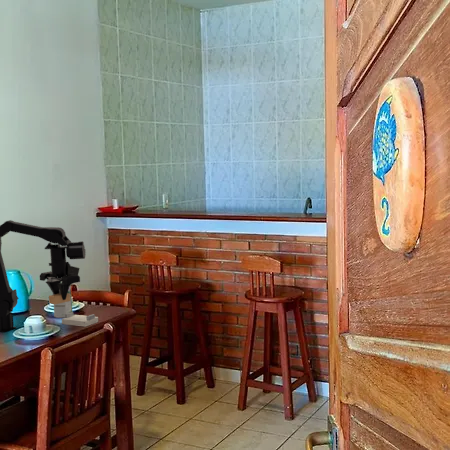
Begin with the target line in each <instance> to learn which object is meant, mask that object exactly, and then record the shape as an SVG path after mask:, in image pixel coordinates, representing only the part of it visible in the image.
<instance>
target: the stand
mask: <svg viewBox="0 0 450 450" xmlns="http://www.w3.org/2000/svg"><path fill="white" fill-rule="evenodd" d="M96 323H99V317H98V316H96V315H95V314H93V313H92V314H89V315H82V314H80V315H79V314H74V312H73V311H72V312H71V313H68V314H65V318H61V325H67V326H77V327H78V326H79V327H88V326H90V325H94V324H96Z"/></svg>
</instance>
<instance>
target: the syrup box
mask: <svg viewBox="0 0 450 450" xmlns="http://www.w3.org/2000/svg"><path fill="white" fill-rule="evenodd" d="M61 283H62V281H61ZM71 288H72V287H71V286H70V287H69V289H68V293H70V301H68V302H64V303H59V304H53V315H54V318H57V319H58V318H59V319H64V318H65V314H68V313H71V312H73V304H72V303H73V302H72V301H73V299H72V289H71ZM59 291H60V290H59ZM52 295H54V294H53V293H52Z"/></svg>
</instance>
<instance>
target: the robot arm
mask: <svg viewBox="0 0 450 450" xmlns="http://www.w3.org/2000/svg"><path fill="white" fill-rule="evenodd" d="M10 232H11V233H12V232H13V233H16V234H21V235H22V234H23V235H27V236H32V237H37V238H40V239H42V240H44V241H46V242H48V243H47V245H46V246H45V247H44V250H50V252H49V253H50V262H48V266H49V267H51V268H50V269H51V271H46V272H41V273H40V274H39V281H43V282H44V281H45V283H46V284H47V286H48V287H49V289H50V291H51V292H52V295H53V294H54V295H55V294H59V290H60V293H61V296H62V299H63V300H66V297H67V293H68V289H69V287H71V285H72V284H73V285H74V284H76V283H81V277H80V276H79V273H80V268H79V267H77V266H72V265H71V264H70V262H69V261H67V258H69V260H83V259H84V260H85V258H86V248H85V244H84V241H78V242H77V241H76V242H72V241H71V240H70V239H69V238H68V236H66V231H65V230H64V228H62V227H58V226H57V227H55V226H54V227H53V226H46V227H45V226H44V227H43V226H39V225H32V224H28V223H23V222H19V221H15V220H12V219H10V220H6V221H4V222H3V223H2V224H0V333H5V332H6V333H7V332H8V331H12V330H15V329H17V326H14V315H13V310H14V308H16V306H17V305H18V300H19V297H18V294H17V293H18V292H17V289H12V287H11V285H10V282H9V278H8V273H7V270H6V267H5V264H4V260H3V255H2V237H3V238H4V236H5V235H7V234H9V233H10ZM61 282H62V283H61Z"/></svg>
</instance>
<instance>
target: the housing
mask: <svg viewBox="0 0 450 450" xmlns="http://www.w3.org/2000/svg"><path fill="white" fill-rule="evenodd" d="M68 301H70V293H67V297H66V300H63V299H62V296H61V293H60V291H59V294H55V295H53V294H52V295H51V294H50V295H48V303H49V304H52V305H54V304H59V303H64V302H68Z"/></svg>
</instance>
